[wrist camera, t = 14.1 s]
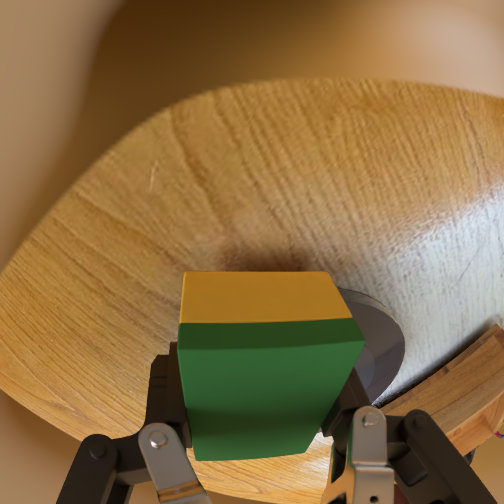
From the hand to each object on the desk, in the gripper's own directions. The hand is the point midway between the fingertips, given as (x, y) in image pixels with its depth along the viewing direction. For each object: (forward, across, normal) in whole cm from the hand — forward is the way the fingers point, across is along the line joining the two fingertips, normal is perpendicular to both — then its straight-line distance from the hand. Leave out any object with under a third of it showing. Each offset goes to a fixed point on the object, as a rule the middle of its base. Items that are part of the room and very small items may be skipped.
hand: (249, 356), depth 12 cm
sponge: (0, 0, 0) cm, 0 cm away
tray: (+2, -24, +18) cm, 30 cm away
